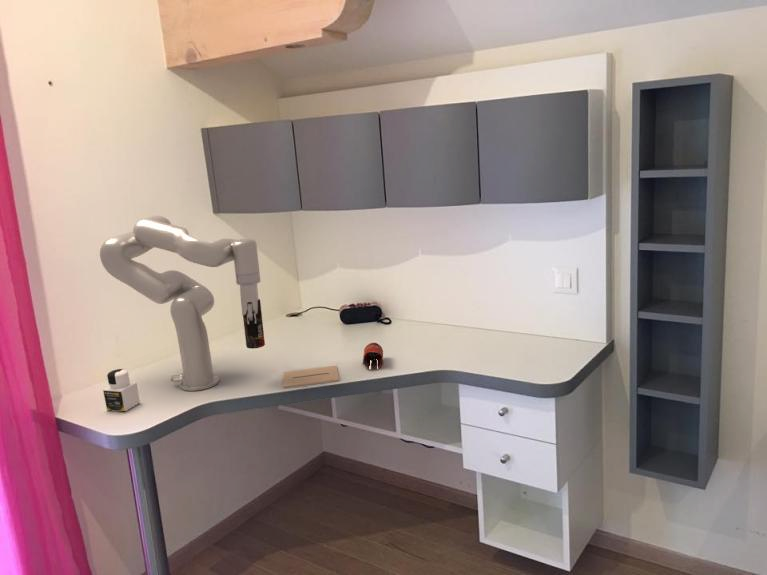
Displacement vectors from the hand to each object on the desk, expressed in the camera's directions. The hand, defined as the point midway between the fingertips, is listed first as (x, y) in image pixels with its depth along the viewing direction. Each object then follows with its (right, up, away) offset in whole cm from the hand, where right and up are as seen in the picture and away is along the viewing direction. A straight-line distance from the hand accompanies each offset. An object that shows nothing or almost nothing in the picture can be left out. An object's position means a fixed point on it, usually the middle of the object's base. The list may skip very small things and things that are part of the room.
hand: (254, 332), depth 211 cm
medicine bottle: (-40, -23, -6) cm, 46 cm away
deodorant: (0, -5, +1) cm, 5 cm away
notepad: (+18, -15, +6) cm, 24 cm away
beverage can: (+39, -12, +13) cm, 43 cm away
